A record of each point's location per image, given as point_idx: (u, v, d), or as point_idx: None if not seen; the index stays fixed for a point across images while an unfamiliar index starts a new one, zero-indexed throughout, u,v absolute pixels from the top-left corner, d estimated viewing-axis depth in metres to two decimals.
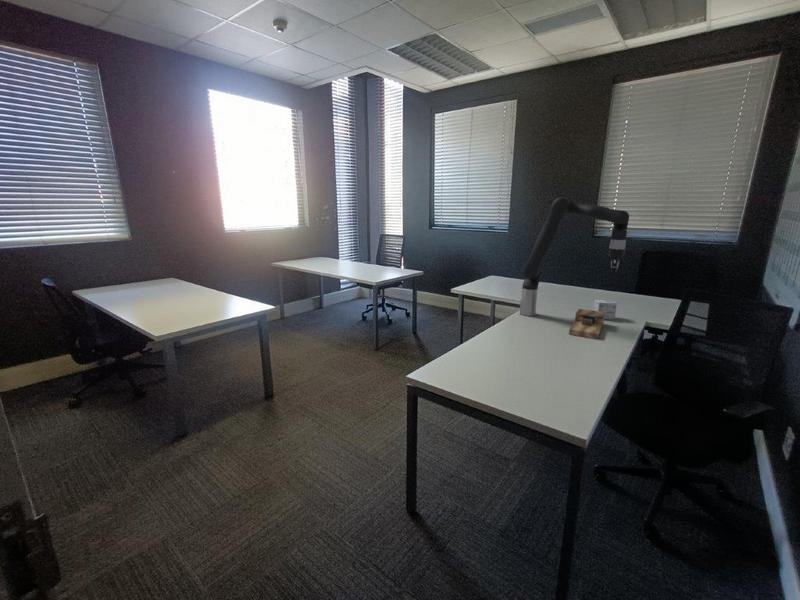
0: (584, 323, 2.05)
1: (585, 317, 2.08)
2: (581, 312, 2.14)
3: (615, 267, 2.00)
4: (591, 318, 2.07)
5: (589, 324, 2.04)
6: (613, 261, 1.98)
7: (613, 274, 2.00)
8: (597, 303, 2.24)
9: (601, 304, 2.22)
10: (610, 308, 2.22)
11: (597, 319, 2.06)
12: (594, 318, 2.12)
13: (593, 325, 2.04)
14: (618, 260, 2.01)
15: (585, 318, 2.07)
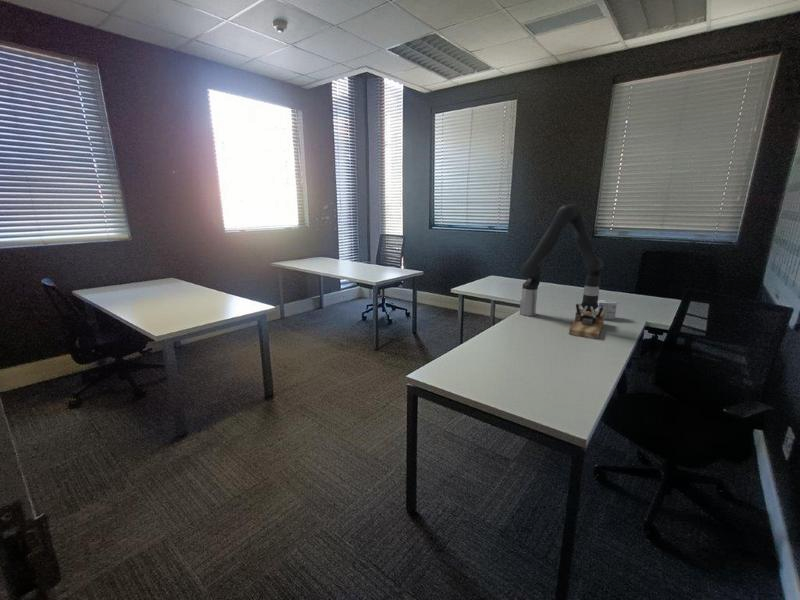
0: (584, 323, 2.05)
1: (585, 317, 2.08)
2: (581, 312, 2.14)
3: None
4: (591, 318, 2.07)
5: (589, 324, 2.04)
6: (602, 309, 1.99)
7: (595, 320, 2.03)
8: None
9: (601, 304, 2.22)
10: (610, 308, 2.22)
11: (597, 319, 2.06)
12: None
13: (593, 325, 2.04)
14: None
15: (585, 318, 2.07)
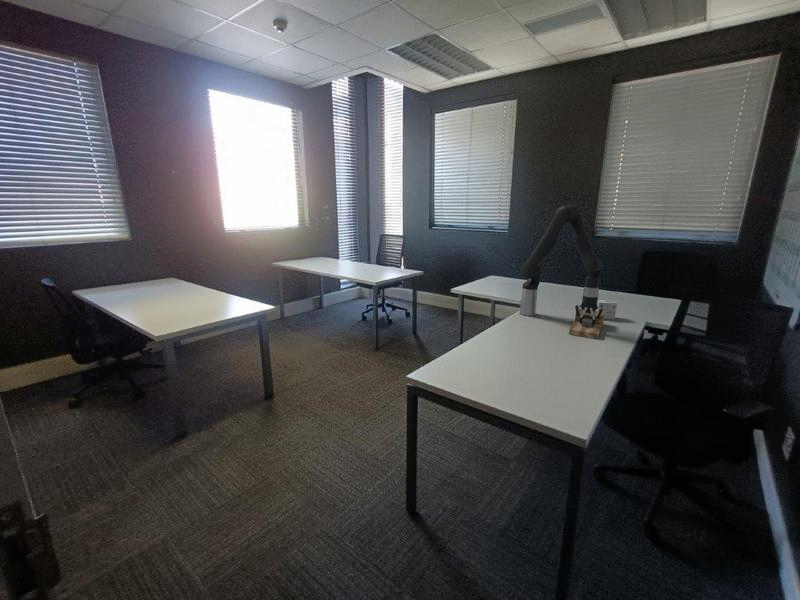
0: (583, 325, 2.02)
1: (584, 318, 2.06)
2: (581, 312, 2.14)
3: None
4: (590, 319, 2.04)
5: (589, 326, 2.01)
6: (602, 310, 1.97)
7: (594, 322, 2.01)
8: (597, 303, 2.24)
9: (601, 304, 2.22)
10: (610, 308, 2.22)
11: (597, 319, 2.06)
12: None
13: (593, 325, 2.04)
14: None
15: (584, 319, 2.04)
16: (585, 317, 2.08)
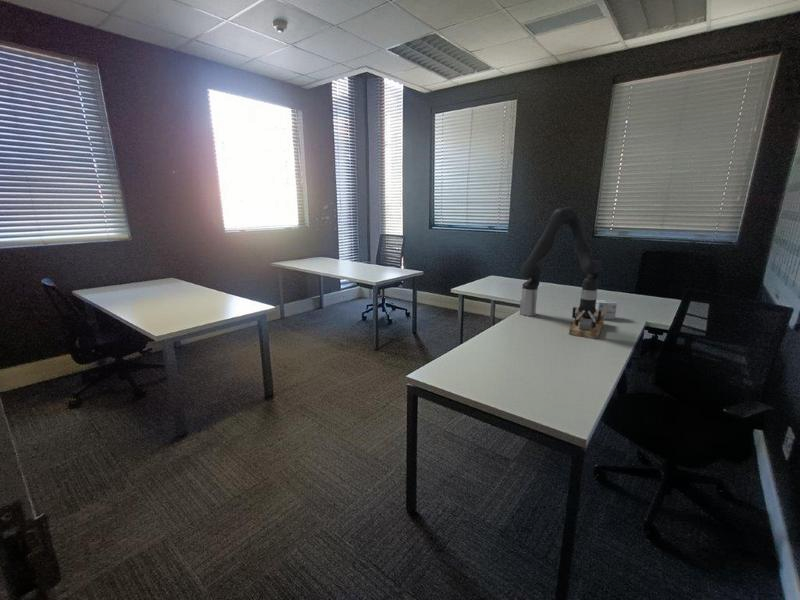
0: (581, 328, 1.97)
1: (583, 322, 2.01)
2: None
3: None
4: (589, 323, 1.99)
5: (587, 329, 1.96)
6: (601, 312, 1.91)
7: (595, 324, 1.95)
8: (597, 303, 2.24)
9: (601, 304, 2.22)
10: (610, 308, 2.22)
11: None
12: (592, 323, 2.04)
13: None
14: None
15: (583, 323, 1.99)
16: (583, 320, 2.03)
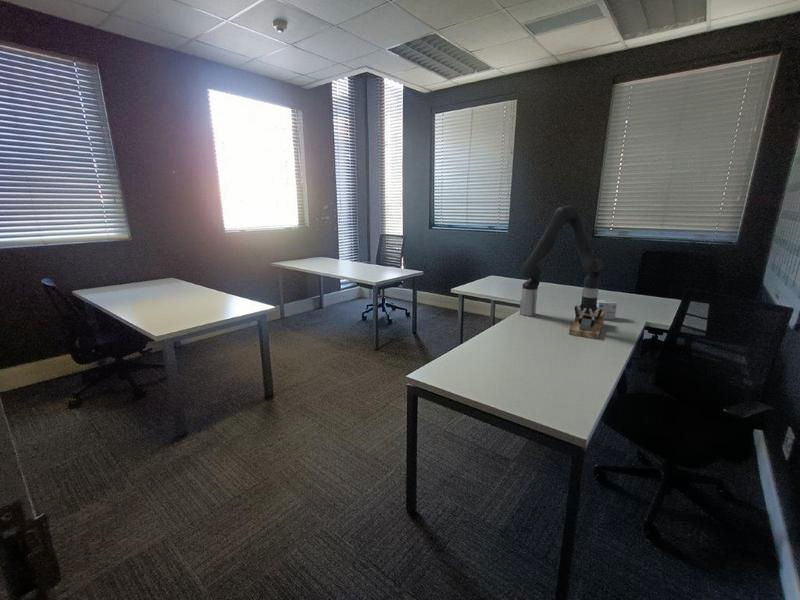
0: (581, 328, 1.97)
1: (583, 322, 2.01)
2: (581, 312, 2.14)
3: None
4: (589, 323, 1.99)
5: (587, 329, 1.96)
6: (601, 311, 1.95)
7: (594, 322, 1.99)
8: (597, 303, 2.24)
9: (601, 304, 2.22)
10: (610, 308, 2.22)
11: None
12: None
13: None
14: None
15: (583, 323, 1.99)
16: (583, 320, 2.03)
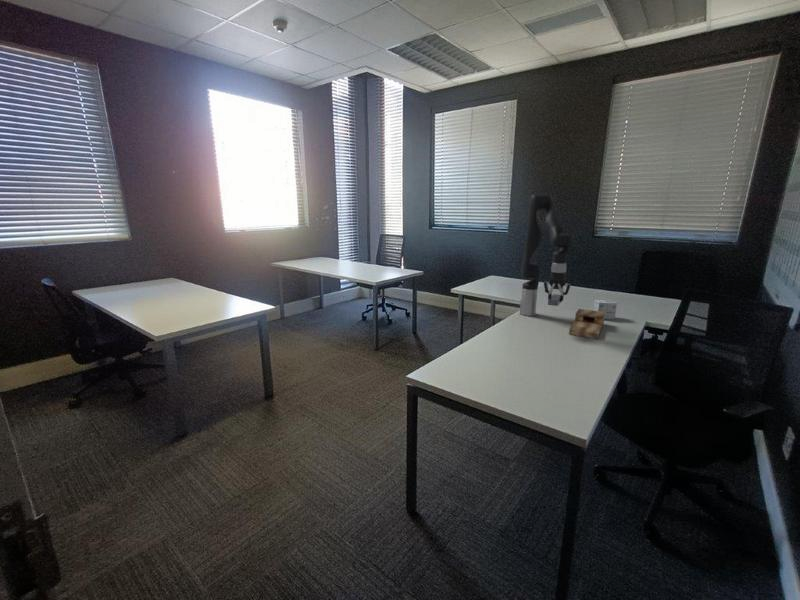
0: (550, 303, 1.97)
1: (552, 297, 2.01)
2: (581, 312, 2.14)
3: None
4: (557, 298, 1.99)
5: (555, 304, 1.96)
6: (569, 286, 1.96)
7: None
8: (597, 303, 2.24)
9: (601, 304, 2.22)
10: (610, 308, 2.22)
11: (597, 319, 2.06)
12: None
13: (593, 325, 2.04)
14: None
15: (551, 298, 1.99)
16: (553, 296, 2.04)
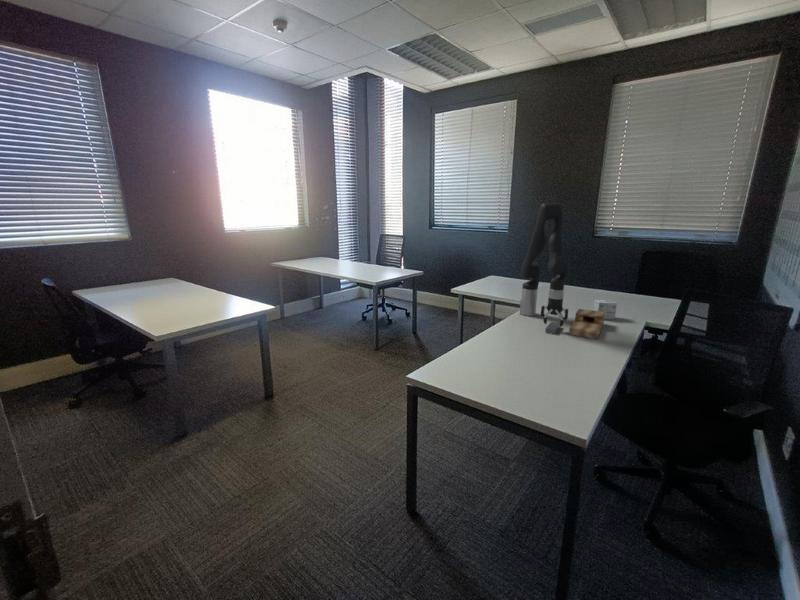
0: (547, 332, 2.02)
1: (549, 326, 2.05)
2: (581, 312, 2.14)
3: None
4: (555, 327, 2.03)
5: (552, 333, 2.00)
6: (567, 311, 1.99)
7: None
8: (597, 303, 2.24)
9: (601, 304, 2.22)
10: (610, 308, 2.22)
11: (597, 319, 2.06)
12: (559, 327, 2.09)
13: (593, 325, 2.04)
14: None
15: (549, 327, 2.03)
16: (550, 324, 2.08)
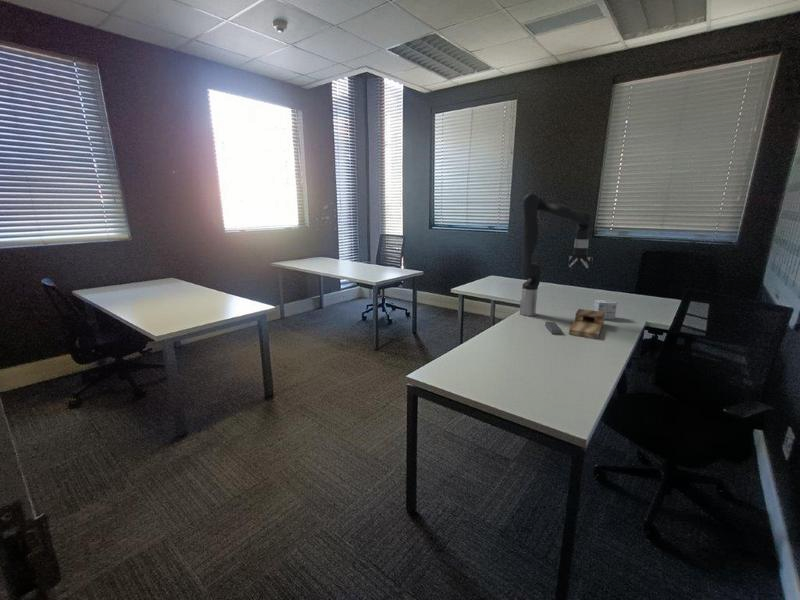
0: (554, 333, 2.00)
1: (551, 326, 2.04)
2: (581, 312, 2.14)
3: None
4: (557, 327, 2.04)
5: (558, 333, 2.00)
6: (592, 259, 2.14)
7: None
8: (597, 303, 2.24)
9: (601, 304, 2.22)
10: (610, 308, 2.22)
11: (597, 319, 2.06)
12: None
13: (593, 325, 2.04)
14: None
15: (552, 327, 2.02)
16: (549, 324, 2.07)
